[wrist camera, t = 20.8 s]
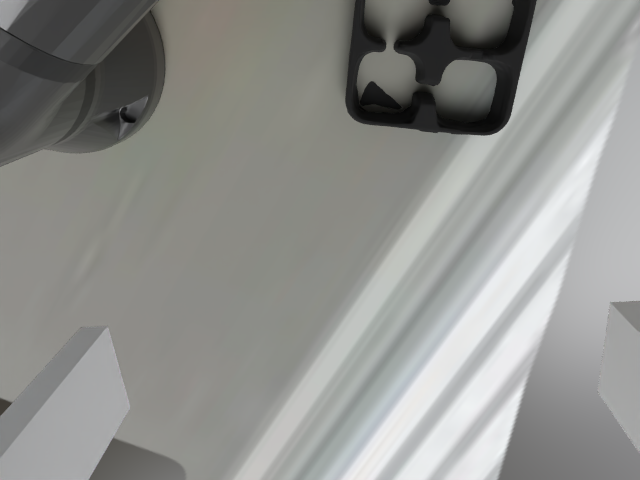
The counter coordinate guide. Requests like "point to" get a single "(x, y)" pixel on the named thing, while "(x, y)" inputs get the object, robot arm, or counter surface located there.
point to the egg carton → (439, 72)
